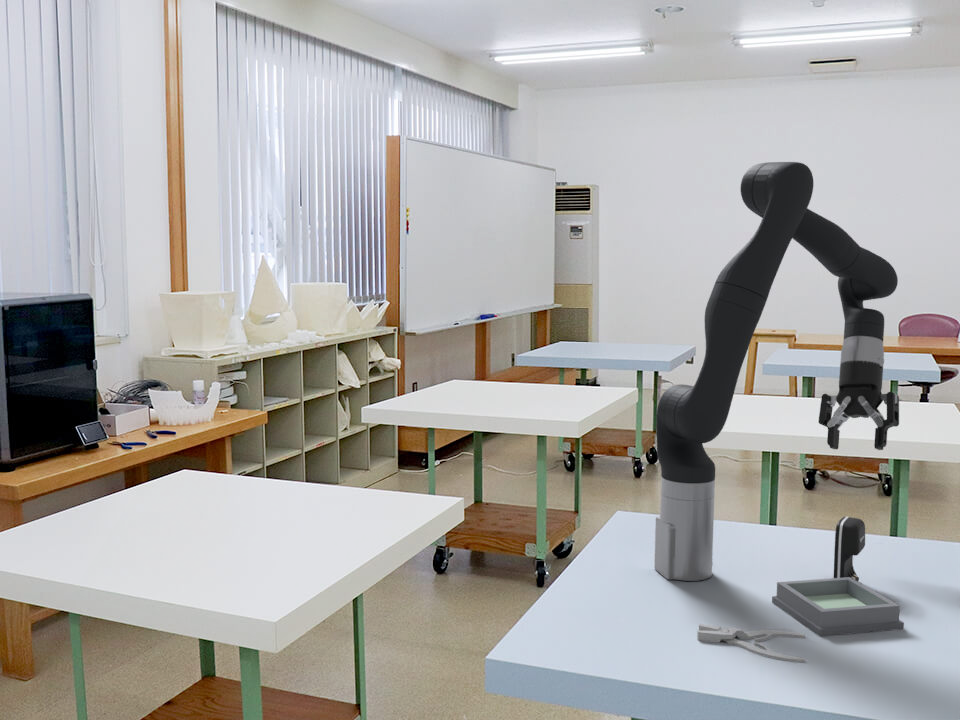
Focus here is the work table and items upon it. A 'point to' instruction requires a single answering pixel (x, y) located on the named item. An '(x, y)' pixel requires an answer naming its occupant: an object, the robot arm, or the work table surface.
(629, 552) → the work table surface
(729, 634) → the pliers
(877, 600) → the tray
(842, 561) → the battery charger
